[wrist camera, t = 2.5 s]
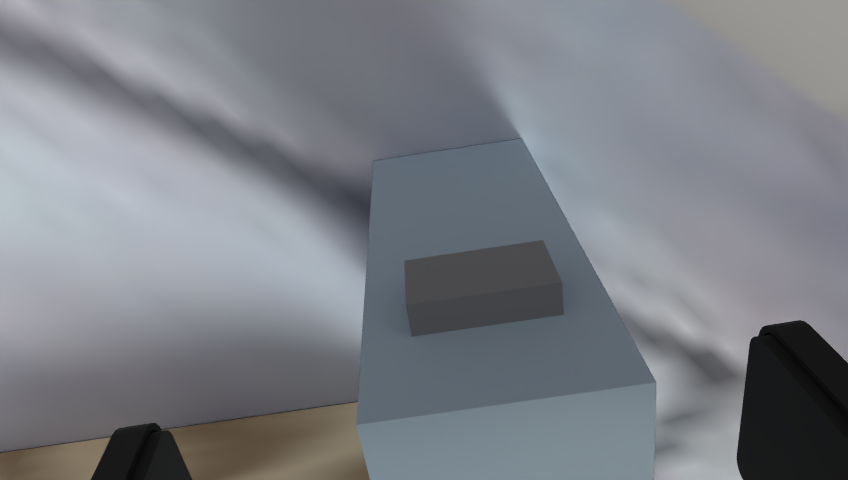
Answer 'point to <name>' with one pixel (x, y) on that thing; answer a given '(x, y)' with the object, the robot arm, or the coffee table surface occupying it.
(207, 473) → the wooden holder
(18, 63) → the coffee table surface
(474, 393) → the cabinet block
